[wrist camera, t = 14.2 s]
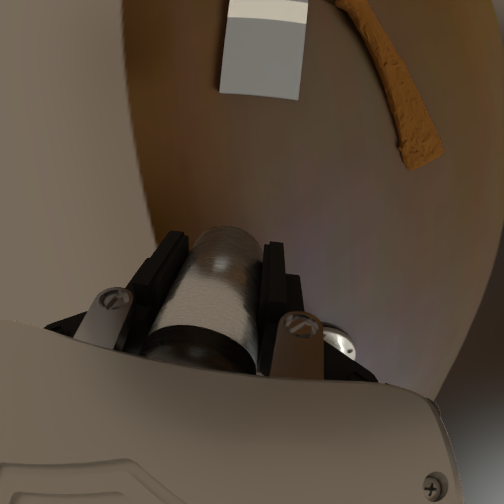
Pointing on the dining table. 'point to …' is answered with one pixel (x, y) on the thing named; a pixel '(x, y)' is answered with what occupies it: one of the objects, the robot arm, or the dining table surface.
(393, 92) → the primitive tool
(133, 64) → the dining table surface
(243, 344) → the steel peg
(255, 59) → the panel
